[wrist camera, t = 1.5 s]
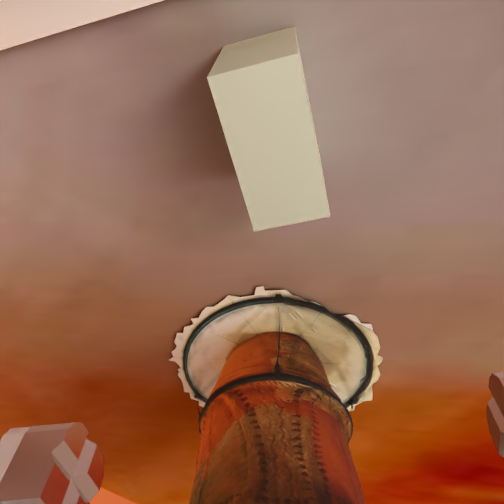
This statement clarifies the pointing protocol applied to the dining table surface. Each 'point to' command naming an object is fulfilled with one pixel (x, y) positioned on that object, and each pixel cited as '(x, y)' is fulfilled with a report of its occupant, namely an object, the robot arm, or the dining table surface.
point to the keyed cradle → (54, 16)
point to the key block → (270, 129)
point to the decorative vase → (276, 399)
